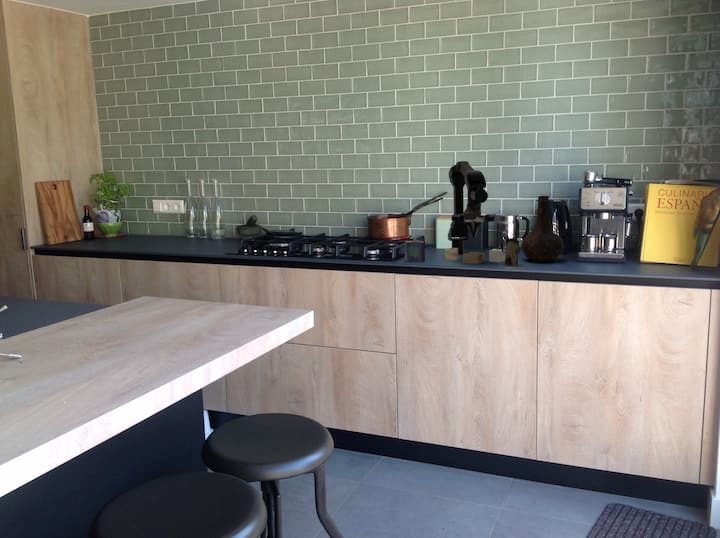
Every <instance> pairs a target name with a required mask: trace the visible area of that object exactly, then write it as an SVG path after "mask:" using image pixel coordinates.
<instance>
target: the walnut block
mask: <svg viewBox="0 0 720 538" xmlns="http://www.w3.org/2000/svg"><path fill="white" fill-rule="evenodd" d="M484 262H486V252H478V251H469V252H465V253H463V254H462V263H463V264H464V263H465V264H471V265H472V264H474V265H477V264H478V265H479V264H481V263H484Z"/></svg>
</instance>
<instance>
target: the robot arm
mask: <svg viewBox="0 0 720 538" xmlns="http://www.w3.org/2000/svg"><path fill="white" fill-rule="evenodd" d="M485 177H486V176H485V175H484V174H483V172H482V171H480V170H475V169H474V168H473V167H472V166H471V165H470V163H469V161H467V160H464V161H463V160H461V161H460V160H459V161H457V162H456V163H455V164H454V165H452V166H451V167H450V168H449V170H448V179H449V183H450V185H451V186H452V187H453V189H452V190H453V214H452V215H451V220H450V221H451V223H450V224H449V225H450V227H449V229H448V233H447V240H448V241H449V242H451V248H458V255H463V254H465V253H467V251H466V250H465V247H464V246H465V242H464V241H468V240H469V233H470V232H471V233H470V234H471V236H472V238H476V236H477V234H478V231H479V228H480V227H481V224H483V223H484V222H487V223H489V222H490V223H491V222H492V223H494V222H497V221H498V215H497V214H496V213H486V214H485V215H482V204H484V203H485V202H486V201H487V200H488V199H489V194H488V191H487V190H485V189H486V188H487V181H486V178H485ZM465 186H466V188H467V189H466V190H467V192H466V193H467V196H466V197H467V199H466V200H467V202H466V203H467V204H466V208H465V207H464V206H465V205H464V200H465V199H464V187H465ZM464 208H465V210H464Z"/></svg>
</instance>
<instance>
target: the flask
mask: <svg viewBox="0 0 720 538" xmlns="http://www.w3.org/2000/svg"><path fill="white" fill-rule="evenodd" d="M425 251H426V247H425V241H422V240H419V239H417V237H413V238H412V241H411V240H408V241H407V240H406V241H404V262H408V263H425V262H426V252H425Z"/></svg>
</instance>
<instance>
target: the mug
mask: <svg viewBox="0 0 720 538" xmlns="http://www.w3.org/2000/svg"><path fill="white" fill-rule="evenodd" d="M504 238H505V240H504ZM504 241H505V252H504V251H503V250H504ZM518 242H519V241H518V239H517V238H512V237H511V238H510V237H508V236H507V235H504V236H501V237H500V246H501V247H500V248H501V249H502V252H503V253H505V261H504V267H517V266H518V265H519V243H518Z"/></svg>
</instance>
